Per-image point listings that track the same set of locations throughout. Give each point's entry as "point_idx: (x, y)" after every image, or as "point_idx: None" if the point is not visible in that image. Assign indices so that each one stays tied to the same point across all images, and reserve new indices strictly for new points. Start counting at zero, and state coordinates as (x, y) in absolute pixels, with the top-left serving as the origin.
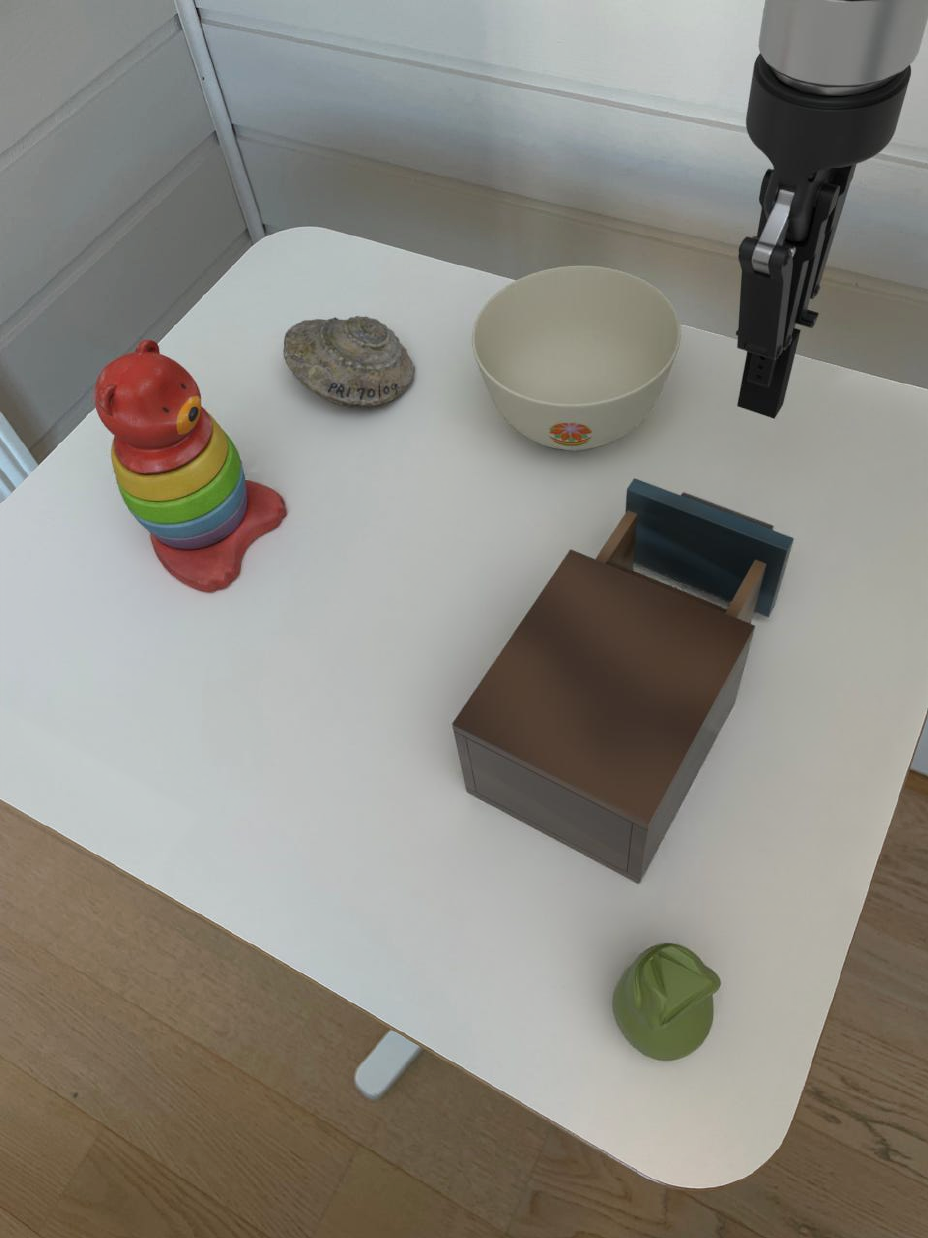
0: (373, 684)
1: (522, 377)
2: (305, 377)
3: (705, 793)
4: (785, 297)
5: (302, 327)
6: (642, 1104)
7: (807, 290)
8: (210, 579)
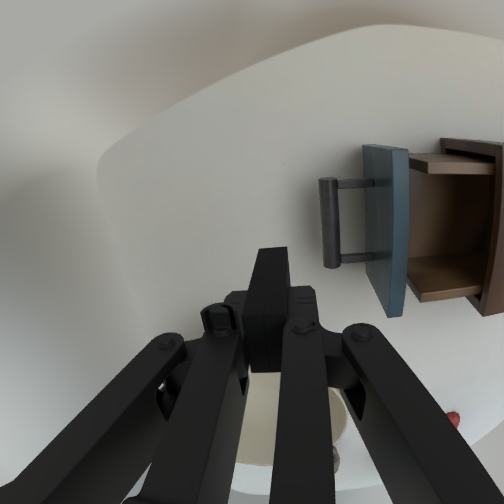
0: (492, 332)
1: (266, 405)
2: (336, 470)
3: (494, 131)
4: (447, 457)
5: None
6: None
7: (227, 379)
8: (458, 419)
